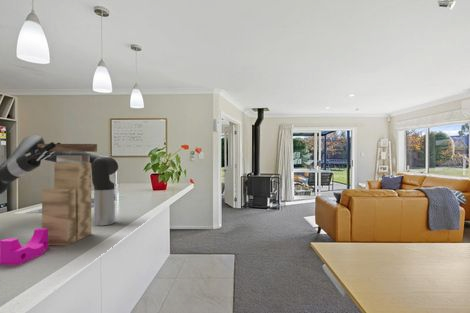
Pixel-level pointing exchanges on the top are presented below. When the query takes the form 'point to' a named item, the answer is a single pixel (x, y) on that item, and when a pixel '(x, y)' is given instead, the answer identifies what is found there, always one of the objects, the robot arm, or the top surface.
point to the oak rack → (68, 201)
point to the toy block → (23, 248)
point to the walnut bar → (72, 147)
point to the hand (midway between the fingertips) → (57, 144)
